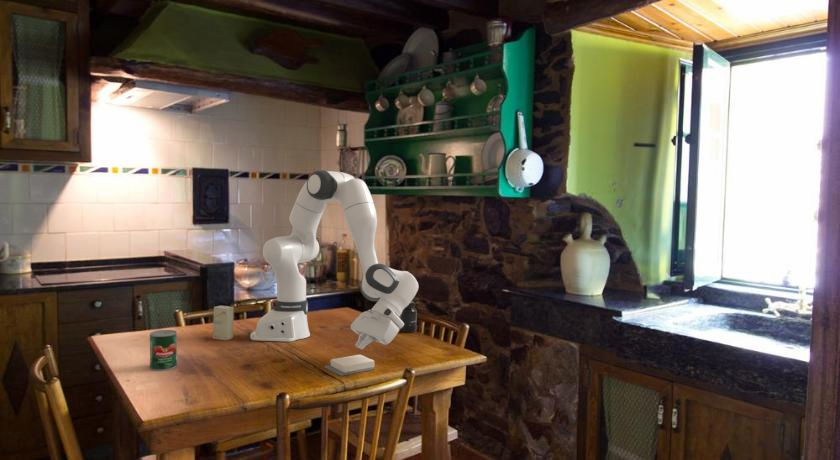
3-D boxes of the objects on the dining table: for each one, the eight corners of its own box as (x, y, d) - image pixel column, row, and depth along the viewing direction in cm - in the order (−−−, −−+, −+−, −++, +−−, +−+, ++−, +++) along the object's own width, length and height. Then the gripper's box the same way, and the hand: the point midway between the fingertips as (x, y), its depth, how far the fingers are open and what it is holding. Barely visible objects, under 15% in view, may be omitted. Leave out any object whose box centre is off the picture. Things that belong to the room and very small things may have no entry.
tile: (374, 367, 192) (344, 373, 185) (360, 360, 199) (330, 365, 193) (374, 360, 192) (344, 366, 185) (360, 354, 199) (330, 359, 192)
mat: (340, 376, 184) (340, 374, 183) (323, 367, 192) (323, 366, 192) (374, 369, 191) (374, 368, 191) (356, 361, 199) (356, 360, 199)
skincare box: (212, 339, 226) (212, 307, 225) (220, 336, 230) (220, 305, 229) (226, 340, 223) (226, 308, 223) (234, 338, 227) (234, 306, 227)
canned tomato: (160, 372, 184) (159, 337, 183) (144, 367, 188) (144, 333, 188) (182, 366, 191) (182, 332, 190) (166, 362, 195) (166, 328, 194)
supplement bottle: (414, 333, 240) (415, 304, 239) (397, 332, 241) (398, 303, 240) (418, 329, 246) (418, 301, 246) (401, 328, 248) (402, 300, 247)
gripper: (362, 303, 205) (336, 334, 200) (396, 313, 189) (369, 348, 184) (373, 314, 208) (348, 346, 203) (407, 325, 192) (381, 360, 187)
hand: (358, 347), depth 193 cm, fingers closed
